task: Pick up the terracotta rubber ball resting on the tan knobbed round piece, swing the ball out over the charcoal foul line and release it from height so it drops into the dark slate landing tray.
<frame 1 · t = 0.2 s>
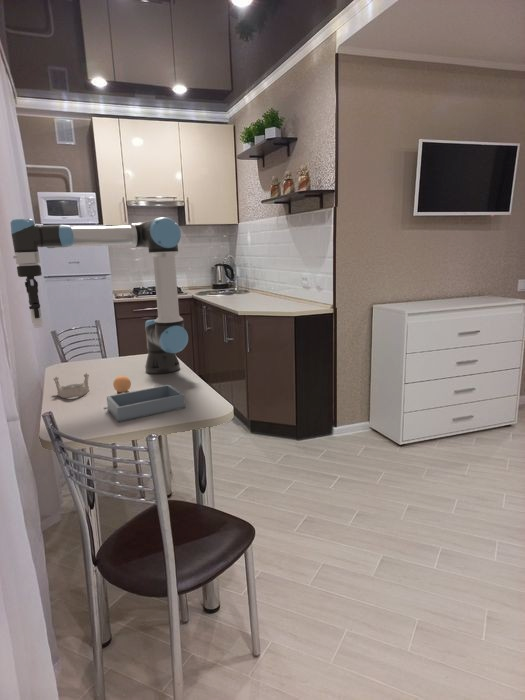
hand: (37, 325, 164), 28 cm above the table, fingers open, 13 cm apart
foul line: (138, 401, 162), on the table
anatomical model: (73, 395, 174), on the table
ball: (123, 392, 163), point 3 cm above the table, touching tan knobbed round piece
landing tray: (146, 408, 154), on the table
tan knobbed round piece: (123, 400, 164), on the table
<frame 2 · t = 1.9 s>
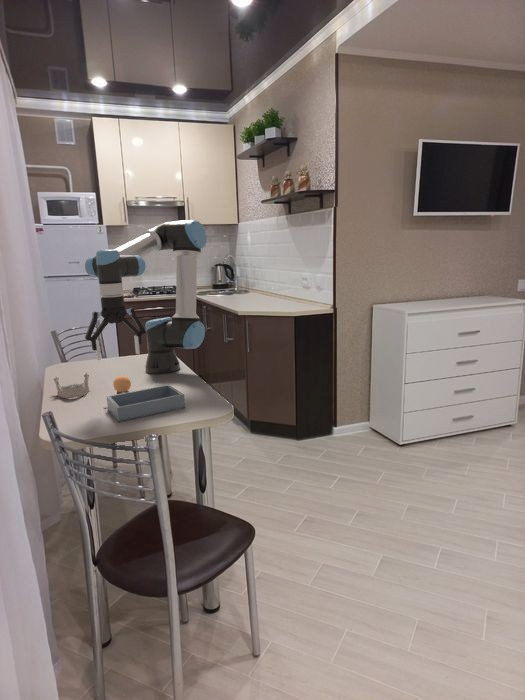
hand: (118, 356, 161), 16 cm above the table, fingers open, 13 cm apart
nothing on the table moved.
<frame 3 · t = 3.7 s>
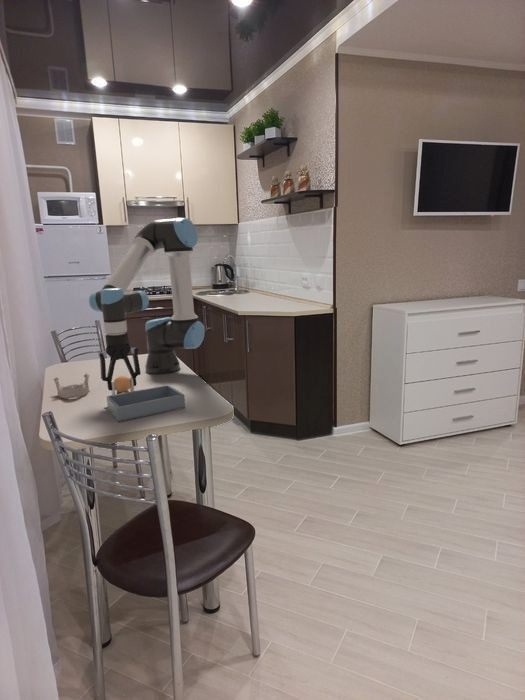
hand: (123, 396, 164), 1 cm above the table, fingers closed on ball, 6 cm apart
ball: (123, 392, 163), point 3 cm above the table, touching gripper, tan knobbed round piece
everything else where it was.
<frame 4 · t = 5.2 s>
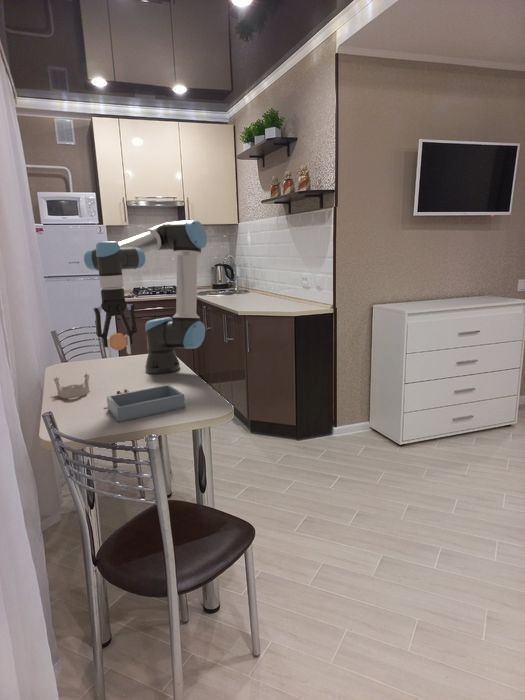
hand: (119, 354, 160), 17 cm above the table, fingers closed on ball, 6 cm apart
ball: (118, 350, 160), point 19 cm above the table, touching gripper
everything else where it was.
when the fingers open (8 cm above the table, at t = 6.7 s): ball drops 9 cm, resting on landing tray.
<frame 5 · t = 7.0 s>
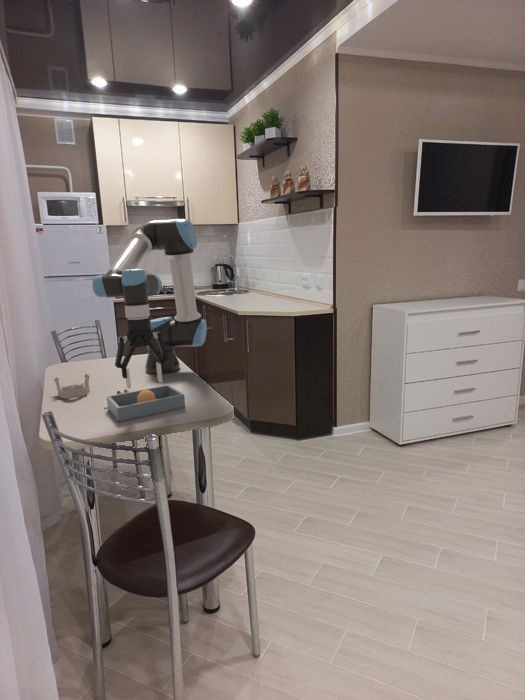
hand: (144, 384, 152), 9 cm above the table, fingers open, 10 cm apart
ball: (147, 407, 153), point 1 cm above the table, touching landing tray
everything else where it was.
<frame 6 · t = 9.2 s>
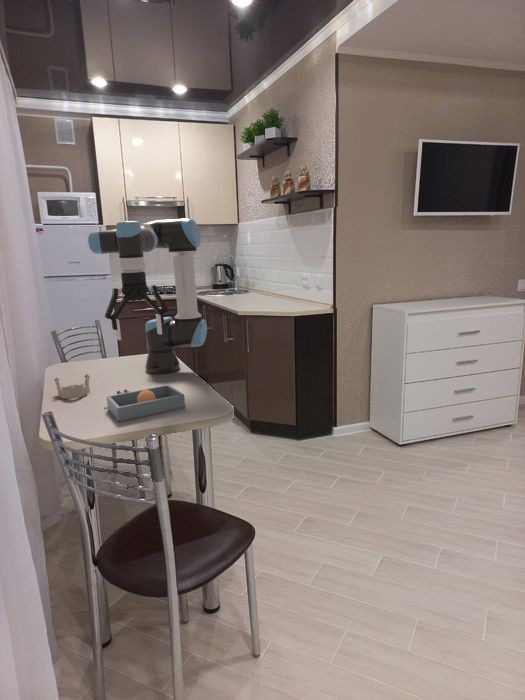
hand: (139, 336, 151), 24 cm above the table, fingers open, 13 cm apart
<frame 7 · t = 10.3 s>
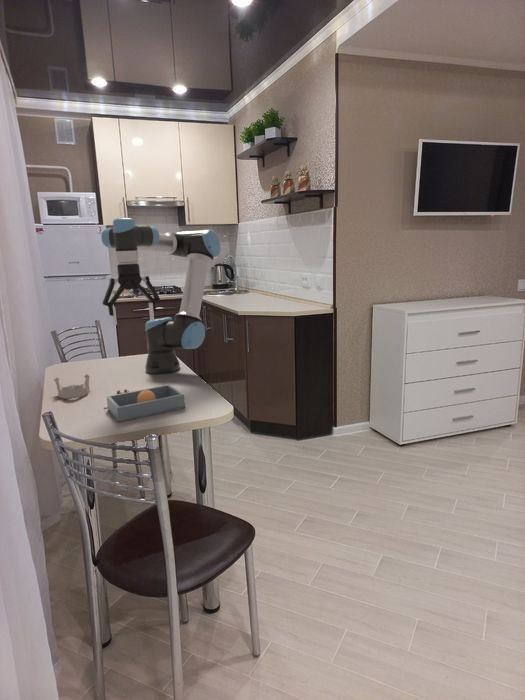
hand: (134, 322, 167), 27 cm above the table, fingers open, 13 cm apart
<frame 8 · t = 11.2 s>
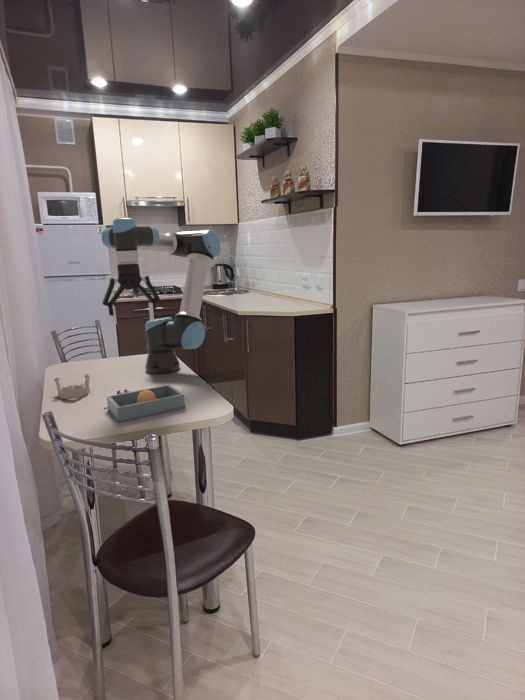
hand: (134, 322, 167), 27 cm above the table, fingers open, 13 cm apart
at the end: ball inside the target area on the landing tray (1.0 cm from its centre), point 0.6 cm above the landing tray's base; the gripper is holding nothing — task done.
